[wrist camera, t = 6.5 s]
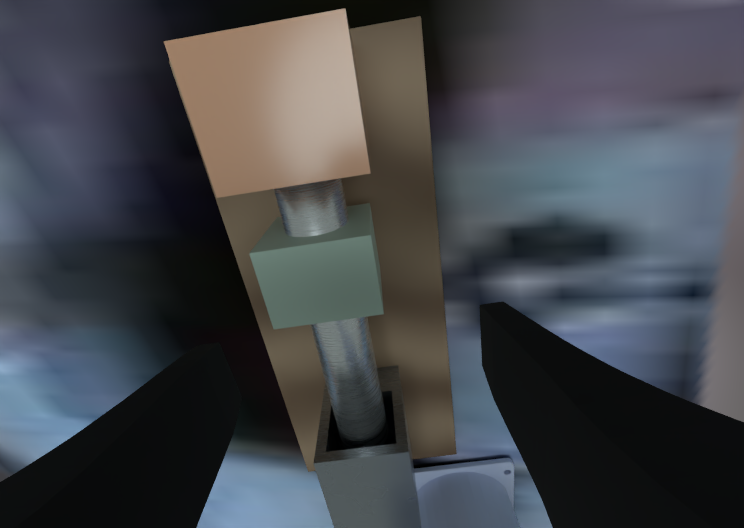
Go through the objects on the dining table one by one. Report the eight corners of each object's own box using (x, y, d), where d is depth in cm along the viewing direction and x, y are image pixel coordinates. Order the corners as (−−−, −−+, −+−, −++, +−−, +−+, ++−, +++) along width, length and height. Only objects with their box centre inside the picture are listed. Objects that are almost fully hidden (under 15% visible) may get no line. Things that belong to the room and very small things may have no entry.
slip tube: (400, 397, 20) (408, 465, 16) (328, 406, 20) (320, 475, 16) (348, 69, 13) (341, 57, 9) (241, 88, 13) (194, 83, 10)
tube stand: (453, 441, 25) (482, 555, 18) (310, 458, 25) (292, 574, 19) (417, 21, 15) (455, -39, 8) (180, 64, 15) (51, 37, 9)
